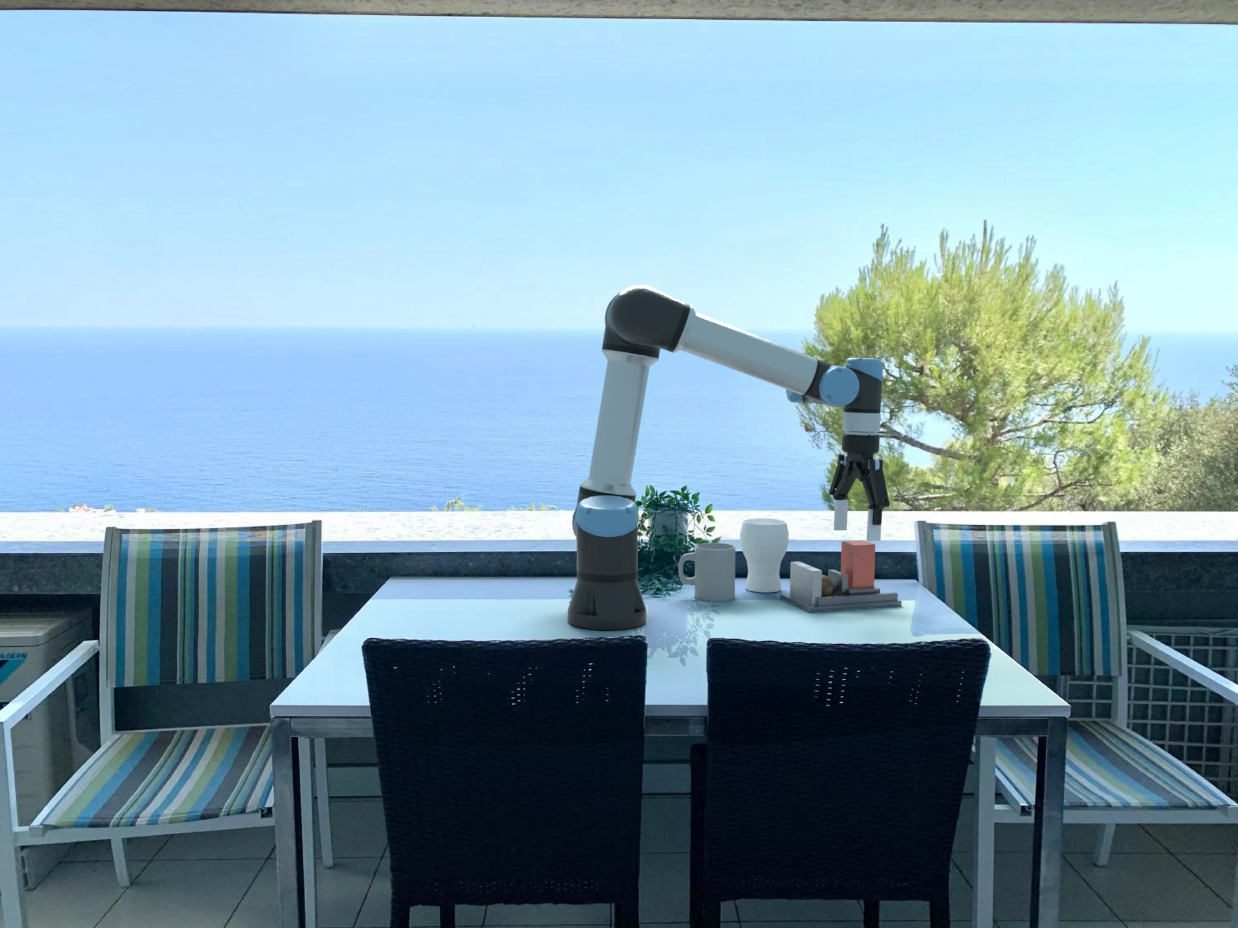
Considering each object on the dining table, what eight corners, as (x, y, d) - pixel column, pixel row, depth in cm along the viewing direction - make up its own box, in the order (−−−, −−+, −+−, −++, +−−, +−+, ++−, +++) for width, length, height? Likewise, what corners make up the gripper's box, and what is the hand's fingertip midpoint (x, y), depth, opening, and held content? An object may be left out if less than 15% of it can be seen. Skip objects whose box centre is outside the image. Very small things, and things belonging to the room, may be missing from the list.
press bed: (808, 612, 204) (809, 572, 203) (780, 598, 216) (780, 560, 216) (901, 605, 210) (902, 567, 209) (868, 592, 223) (869, 556, 222)
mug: (732, 592, 222) (733, 542, 221) (736, 601, 213) (737, 549, 212) (677, 592, 222) (677, 542, 221) (679, 601, 213) (679, 549, 212)
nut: (815, 602, 209) (815, 577, 208) (804, 596, 214) (804, 573, 213) (837, 600, 210) (837, 576, 210) (825, 595, 215) (826, 571, 215)
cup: (791, 594, 220) (792, 525, 219) (741, 594, 221) (742, 525, 219) (784, 584, 231) (785, 518, 229) (736, 583, 231) (737, 517, 230)
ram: (844, 600, 209) (845, 547, 208) (825, 592, 217) (826, 540, 216) (879, 597, 211) (881, 545, 210) (859, 589, 219) (861, 538, 218)
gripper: (910, 437, 200) (905, 545, 202) (847, 429, 224) (842, 525, 226) (876, 437, 198) (871, 546, 200) (816, 429, 222) (811, 526, 224)
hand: (856, 535), depth 213 cm, fingers open, 13 cm apart
